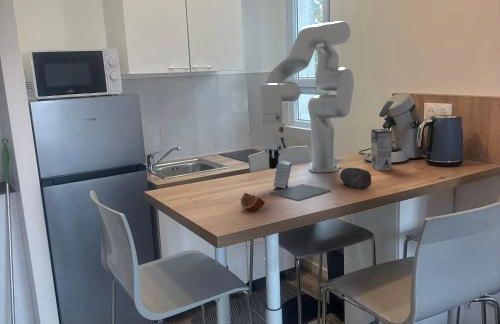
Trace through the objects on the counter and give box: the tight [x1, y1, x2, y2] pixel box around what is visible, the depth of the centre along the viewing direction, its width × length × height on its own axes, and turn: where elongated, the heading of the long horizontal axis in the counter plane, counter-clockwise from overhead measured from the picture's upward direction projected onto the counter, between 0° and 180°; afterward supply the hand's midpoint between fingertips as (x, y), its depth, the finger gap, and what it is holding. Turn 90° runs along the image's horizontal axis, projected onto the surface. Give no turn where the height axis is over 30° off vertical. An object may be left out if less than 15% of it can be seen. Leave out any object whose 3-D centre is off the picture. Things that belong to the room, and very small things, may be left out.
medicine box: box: [273, 160, 292, 189], centre depth 157 cm, size 8×4×9 cm, turn 168°
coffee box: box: [370, 128, 393, 171], centre depth 180 cm, size 9×6×16 cm
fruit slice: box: [240, 192, 266, 212], centre depth 132 cm, size 8×7×5 cm
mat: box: [269, 183, 332, 202], centre depth 150 cm, size 16×14×1 cm
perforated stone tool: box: [339, 167, 372, 190], centre depth 153 cm, size 15×5×7 cm, turn 22°
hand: (273, 167), depth 159 cm, fingers closed
